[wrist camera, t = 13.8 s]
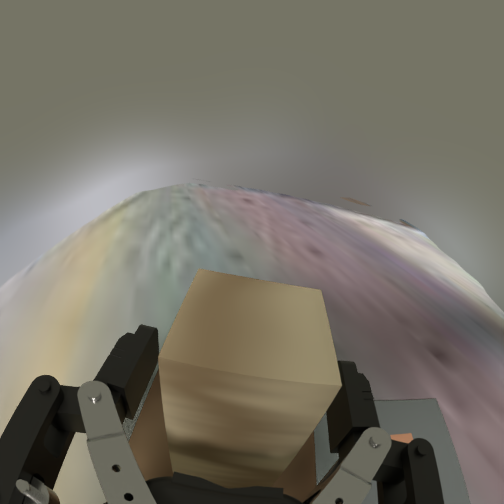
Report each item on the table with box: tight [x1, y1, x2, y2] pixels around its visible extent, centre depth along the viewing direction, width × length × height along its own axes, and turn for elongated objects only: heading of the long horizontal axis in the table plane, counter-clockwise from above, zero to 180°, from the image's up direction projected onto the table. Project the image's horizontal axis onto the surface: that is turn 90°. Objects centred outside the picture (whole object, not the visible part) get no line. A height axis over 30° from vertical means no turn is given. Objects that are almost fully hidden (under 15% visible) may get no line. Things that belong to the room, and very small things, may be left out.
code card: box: [361, 398, 470, 504], centre depth 15 cm, size 11×14×1 cm
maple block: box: [158, 269, 342, 488], centre depth 12 cm, size 5×5×12 cm
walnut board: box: [129, 369, 316, 502], centre depth 15 cm, size 12×14×1 cm
